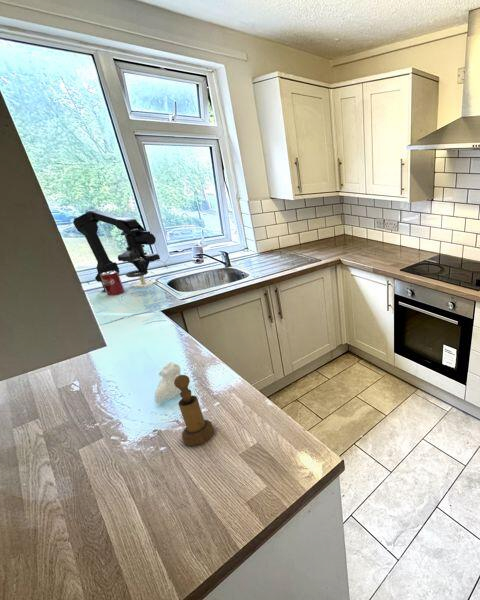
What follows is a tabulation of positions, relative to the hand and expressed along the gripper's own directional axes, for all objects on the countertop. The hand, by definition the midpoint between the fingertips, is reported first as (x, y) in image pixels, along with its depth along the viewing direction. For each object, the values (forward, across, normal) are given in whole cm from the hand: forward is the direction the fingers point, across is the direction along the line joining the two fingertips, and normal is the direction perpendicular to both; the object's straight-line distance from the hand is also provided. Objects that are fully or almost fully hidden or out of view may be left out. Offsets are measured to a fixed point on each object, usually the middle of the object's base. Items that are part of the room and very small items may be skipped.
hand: (143, 273), depth 173 cm
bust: (+10, +75, -80) cm, 110 cm away
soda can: (+11, -15, -4) cm, 19 cm away
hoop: (0, -4, 0) cm, 4 cm away
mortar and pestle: (+10, +93, -95) cm, 133 cm away
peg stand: (+11, -11, +10) cm, 18 cm away
